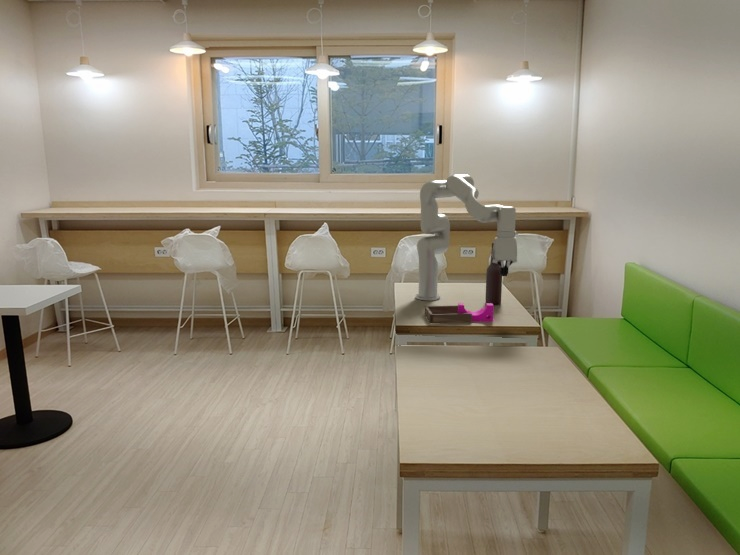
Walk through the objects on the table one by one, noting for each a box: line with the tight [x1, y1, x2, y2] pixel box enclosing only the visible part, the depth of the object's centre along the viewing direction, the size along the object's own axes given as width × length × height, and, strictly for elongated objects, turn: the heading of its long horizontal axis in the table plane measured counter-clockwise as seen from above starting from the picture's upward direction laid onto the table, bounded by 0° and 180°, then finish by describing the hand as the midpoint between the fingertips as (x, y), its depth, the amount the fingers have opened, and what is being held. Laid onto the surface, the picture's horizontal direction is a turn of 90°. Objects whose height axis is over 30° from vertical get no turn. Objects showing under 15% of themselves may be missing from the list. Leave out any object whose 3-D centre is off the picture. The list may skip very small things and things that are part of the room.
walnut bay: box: [424, 304, 473, 324], centre depth 262 cm, size 15×18×4 cm
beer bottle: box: [485, 242, 503, 306], centre depth 285 cm, size 8×8×30 cm
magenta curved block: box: [457, 302, 495, 322], centre depth 260 cm, size 15×6×8 cm, turn 87°
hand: (504, 275), depth 260 cm, fingers closed
